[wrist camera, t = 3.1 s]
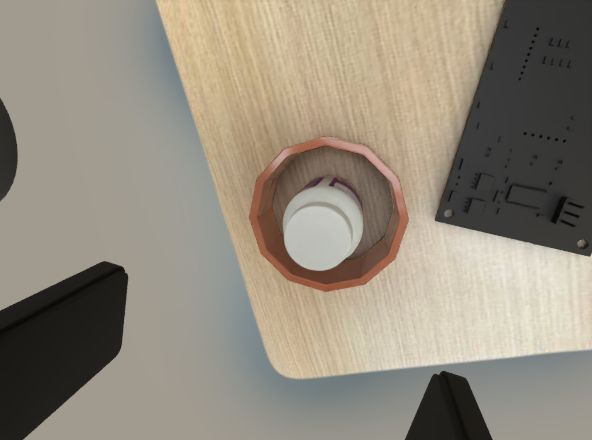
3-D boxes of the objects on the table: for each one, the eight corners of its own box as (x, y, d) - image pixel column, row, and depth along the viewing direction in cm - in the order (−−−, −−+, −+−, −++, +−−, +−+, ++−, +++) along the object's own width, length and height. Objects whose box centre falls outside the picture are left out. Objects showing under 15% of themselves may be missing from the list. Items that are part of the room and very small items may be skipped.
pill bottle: (304, 238, 30) (277, 284, 20) (295, 178, 28) (263, 199, 19) (365, 233, 28) (367, 280, 19) (359, 171, 27) (358, 189, 18)
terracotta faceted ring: (256, 247, 31) (239, 265, 26) (282, 124, 28) (267, 122, 23) (376, 283, 29) (378, 308, 25) (418, 157, 26) (428, 161, 22)
